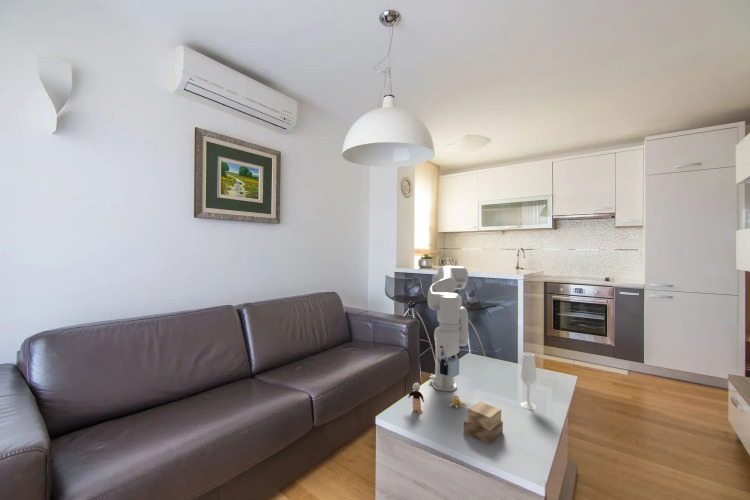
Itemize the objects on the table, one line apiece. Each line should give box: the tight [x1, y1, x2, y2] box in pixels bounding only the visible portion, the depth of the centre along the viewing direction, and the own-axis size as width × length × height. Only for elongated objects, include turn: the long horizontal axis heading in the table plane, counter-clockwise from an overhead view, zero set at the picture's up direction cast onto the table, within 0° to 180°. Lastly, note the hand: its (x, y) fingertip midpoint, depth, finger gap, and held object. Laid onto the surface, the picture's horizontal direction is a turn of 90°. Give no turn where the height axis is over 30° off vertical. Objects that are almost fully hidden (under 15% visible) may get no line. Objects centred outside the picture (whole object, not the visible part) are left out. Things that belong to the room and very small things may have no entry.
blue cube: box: [438, 357, 460, 378], centre depth 127 cm, size 6×6×6 cm
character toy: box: [449, 395, 468, 408], centre depth 147 cm, size 8×3×8 cm
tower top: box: [467, 401, 502, 431], centre depth 125 cm, size 9×9×5 cm
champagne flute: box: [520, 352, 537, 410], centre depth 148 cm, size 7×7×24 cm
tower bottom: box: [463, 418, 504, 446], centre depth 125 cm, size 11×11×5 cm
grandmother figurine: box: [407, 382, 425, 415], centre depth 142 cm, size 8×4×13 cm, turn 71°
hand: (448, 371), depth 127 cm, fingers closed on blue cube, 6 cm apart
